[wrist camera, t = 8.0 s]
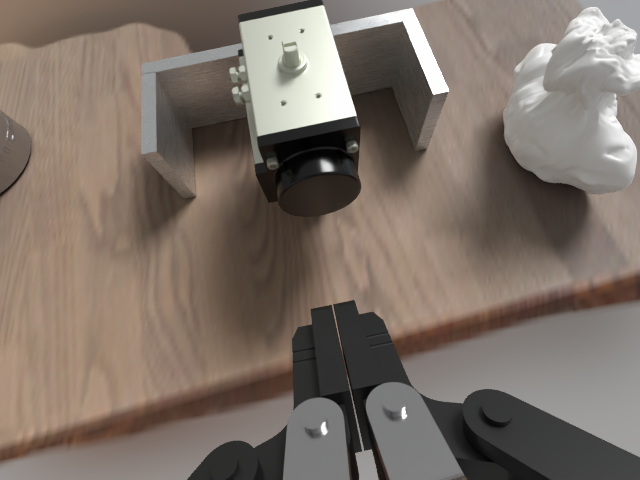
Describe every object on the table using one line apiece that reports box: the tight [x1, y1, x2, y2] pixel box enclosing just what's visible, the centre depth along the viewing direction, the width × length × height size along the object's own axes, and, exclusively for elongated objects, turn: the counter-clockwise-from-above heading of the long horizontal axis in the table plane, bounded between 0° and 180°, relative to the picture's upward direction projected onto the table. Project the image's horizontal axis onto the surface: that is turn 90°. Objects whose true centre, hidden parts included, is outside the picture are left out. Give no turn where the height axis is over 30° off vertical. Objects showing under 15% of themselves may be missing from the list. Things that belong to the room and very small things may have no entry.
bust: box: [503, 7, 640, 194], centre depth 22 cm, size 12×8×11 cm
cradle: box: [141, 8, 449, 199], centre depth 25 cm, size 20×8×6 cm, turn 101°
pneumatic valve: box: [229, 0, 361, 217], centre depth 21 cm, size 6×12×12 cm, turn 11°
